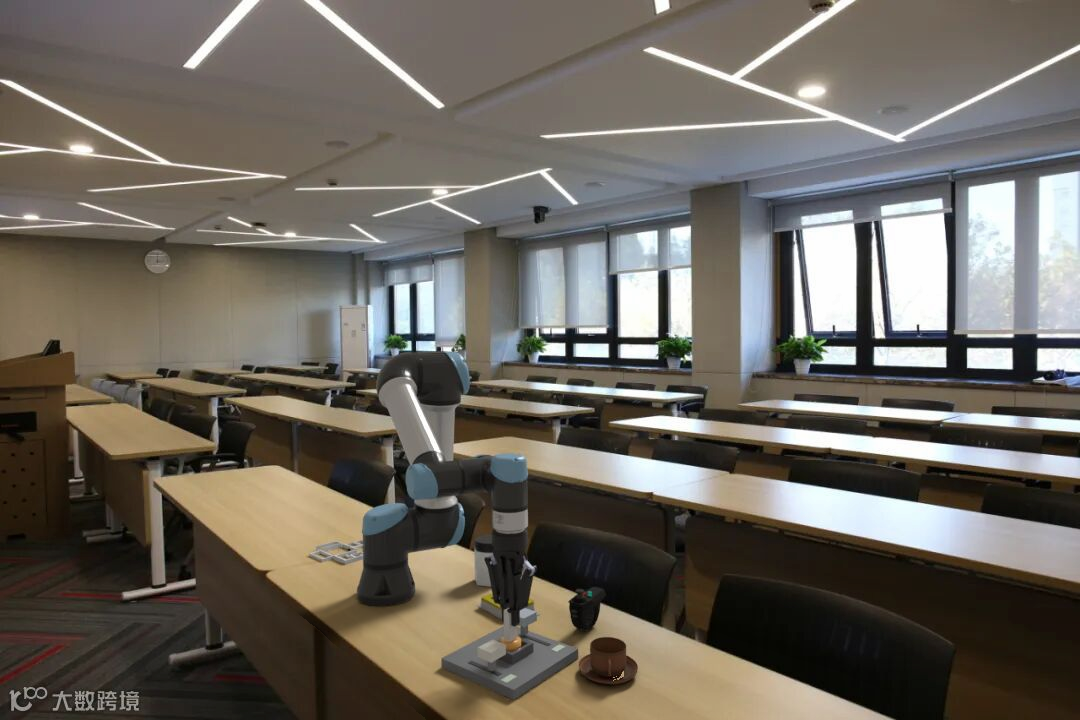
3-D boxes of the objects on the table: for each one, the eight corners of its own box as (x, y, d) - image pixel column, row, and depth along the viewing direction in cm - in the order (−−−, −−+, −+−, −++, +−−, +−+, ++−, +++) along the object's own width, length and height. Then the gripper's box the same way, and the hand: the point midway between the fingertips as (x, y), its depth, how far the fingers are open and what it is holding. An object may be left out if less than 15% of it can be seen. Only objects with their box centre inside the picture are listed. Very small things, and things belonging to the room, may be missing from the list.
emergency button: (505, 581, 179) (541, 598, 168) (505, 597, 180) (541, 616, 168) (475, 590, 173) (511, 608, 162) (476, 607, 174) (512, 626, 162)
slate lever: (511, 634, 151) (511, 614, 151) (524, 628, 155) (524, 607, 154) (524, 639, 149) (523, 618, 149) (536, 632, 152) (536, 611, 152)
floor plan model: (285, 560, 210) (285, 554, 210) (357, 541, 228) (357, 535, 228) (316, 575, 197) (316, 568, 197) (389, 553, 215) (389, 547, 215)
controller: (565, 634, 157) (565, 592, 156) (592, 615, 167) (592, 575, 167) (581, 639, 154) (581, 596, 154) (608, 620, 165) (608, 579, 164)
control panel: (441, 667, 142) (441, 648, 142) (508, 632, 158) (508, 615, 158) (514, 700, 129) (513, 679, 129) (578, 657, 146) (578, 639, 146)
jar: (468, 585, 187) (468, 542, 187) (480, 574, 195) (479, 533, 195) (499, 588, 185) (499, 545, 184) (509, 578, 192) (509, 536, 192)
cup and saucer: (647, 684, 135) (647, 654, 135) (591, 694, 132) (591, 663, 131) (623, 656, 147) (623, 628, 146) (570, 664, 143) (570, 636, 143)
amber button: (495, 651, 143) (495, 640, 143) (509, 644, 147) (509, 633, 147) (511, 658, 141) (511, 646, 141) (525, 650, 144) (525, 639, 144)
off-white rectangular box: (477, 670, 136) (477, 647, 135) (492, 662, 139) (492, 639, 139) (491, 676, 133) (490, 652, 133) (505, 667, 137) (505, 644, 137)
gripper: (474, 527, 144) (476, 636, 145) (522, 538, 135) (523, 654, 137) (498, 519, 149) (499, 624, 151) (545, 529, 141) (546, 641, 142)
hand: (510, 639), depth 144 cm, fingers closed
